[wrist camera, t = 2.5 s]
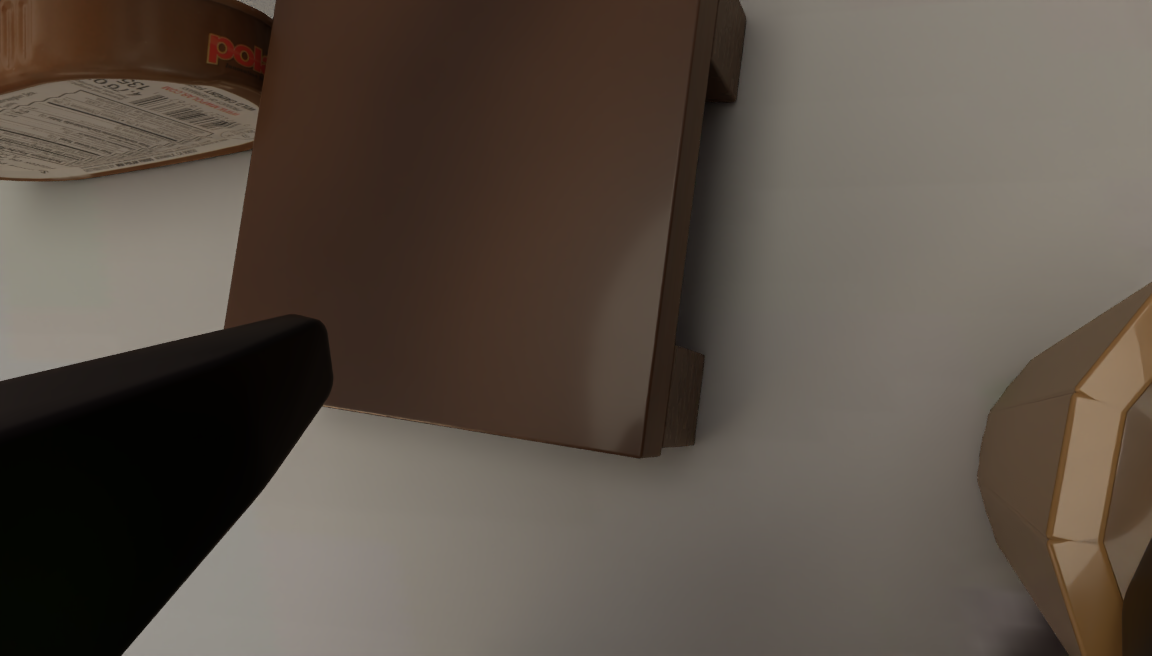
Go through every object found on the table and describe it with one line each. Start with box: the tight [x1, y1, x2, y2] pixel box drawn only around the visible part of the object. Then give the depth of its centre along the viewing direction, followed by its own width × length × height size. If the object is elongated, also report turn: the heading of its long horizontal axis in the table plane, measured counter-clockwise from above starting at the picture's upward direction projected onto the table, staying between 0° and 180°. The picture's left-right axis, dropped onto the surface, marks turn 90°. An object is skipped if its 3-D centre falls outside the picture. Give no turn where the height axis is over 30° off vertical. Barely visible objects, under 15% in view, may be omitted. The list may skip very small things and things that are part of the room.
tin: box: [0, 0, 273, 181], centre depth 27 cm, size 15×3×8 cm, turn 91°
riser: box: [224, 0, 746, 459], centre depth 23 cm, size 12×12×4 cm
